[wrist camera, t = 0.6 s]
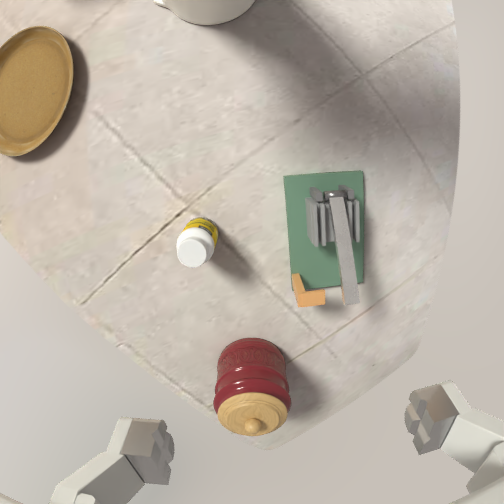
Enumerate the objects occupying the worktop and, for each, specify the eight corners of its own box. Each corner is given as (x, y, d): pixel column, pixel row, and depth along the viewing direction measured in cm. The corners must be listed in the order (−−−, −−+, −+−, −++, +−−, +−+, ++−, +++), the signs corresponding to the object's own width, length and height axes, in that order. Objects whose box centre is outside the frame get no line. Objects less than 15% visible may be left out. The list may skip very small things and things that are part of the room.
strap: (322, 193, 44) (324, 189, 42) (343, 191, 44) (345, 188, 42) (339, 305, 41) (341, 305, 39) (360, 302, 41) (363, 302, 39)
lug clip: (291, 274, 52) (297, 294, 45) (315, 271, 52) (325, 291, 45) (292, 285, 53) (298, 307, 46) (316, 283, 53) (325, 304, 46)
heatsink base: (283, 175, 48) (288, 181, 42) (360, 170, 47) (375, 176, 41) (291, 288, 54) (297, 307, 48) (360, 279, 54) (373, 296, 48)
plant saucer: (98, 113, 43) (89, 112, 40) (5, 176, 46) (-5, 179, 43) (66, 6, 35) (57, 1, 32) (-20, 77, 38) (-30, 76, 35)
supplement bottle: (221, 219, 50) (215, 239, 41) (215, 251, 52) (208, 277, 43) (188, 212, 49) (174, 230, 40) (182, 244, 51) (169, 268, 42)
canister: (235, 326, 57) (231, 396, 40) (296, 349, 59) (311, 418, 42) (208, 372, 61) (198, 441, 44) (265, 392, 63) (269, 459, 46)
